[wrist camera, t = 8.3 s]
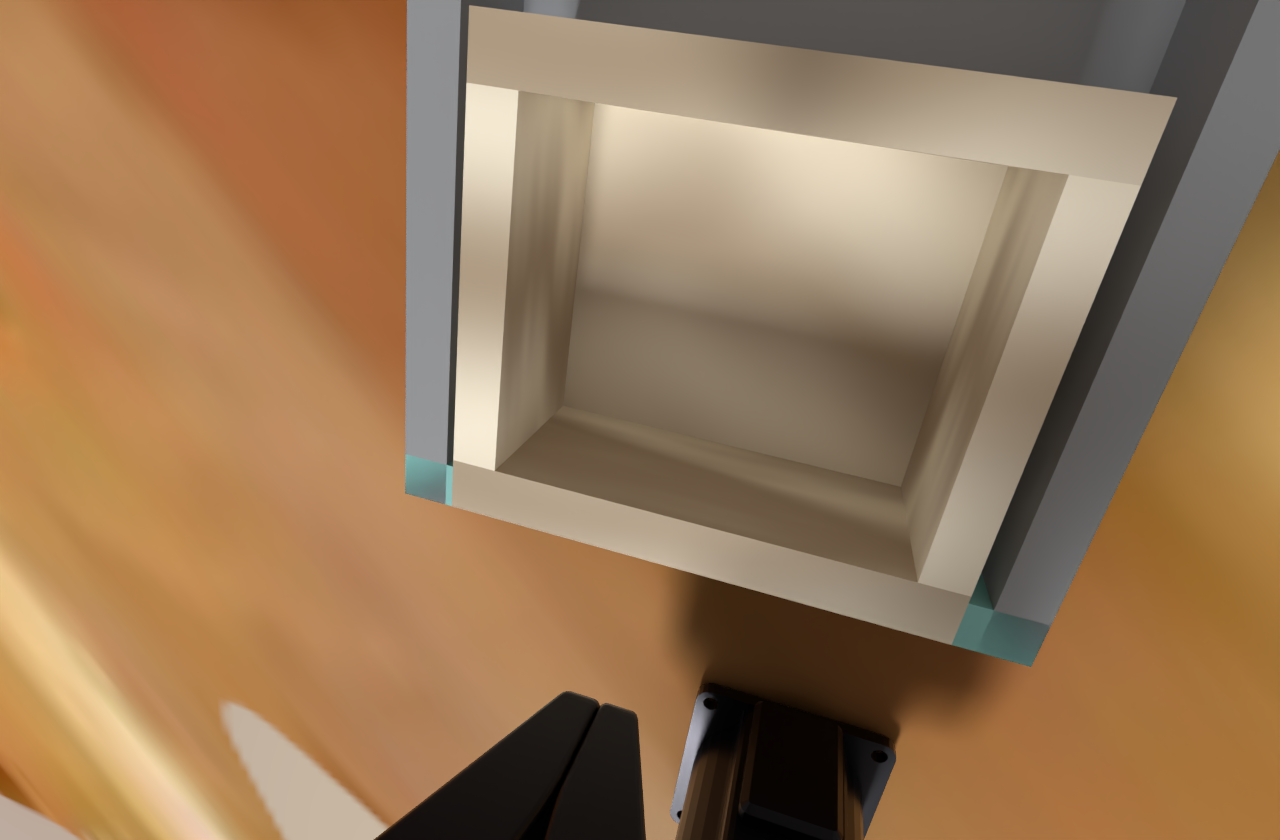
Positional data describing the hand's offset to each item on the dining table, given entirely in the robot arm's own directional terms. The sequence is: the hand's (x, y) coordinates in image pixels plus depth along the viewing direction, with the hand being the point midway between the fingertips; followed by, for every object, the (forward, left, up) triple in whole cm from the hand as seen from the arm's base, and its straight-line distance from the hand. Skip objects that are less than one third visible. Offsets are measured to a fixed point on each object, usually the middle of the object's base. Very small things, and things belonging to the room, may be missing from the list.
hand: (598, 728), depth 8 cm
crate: (+2, 0, -12) cm, 12 cm away
